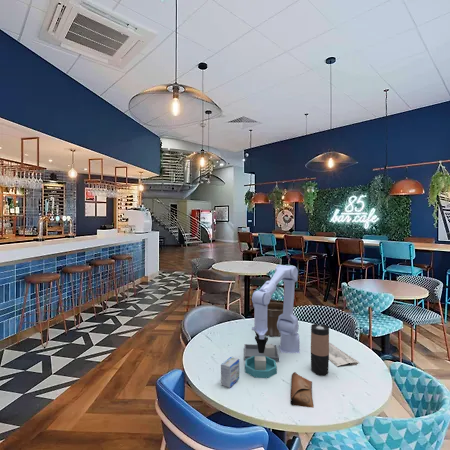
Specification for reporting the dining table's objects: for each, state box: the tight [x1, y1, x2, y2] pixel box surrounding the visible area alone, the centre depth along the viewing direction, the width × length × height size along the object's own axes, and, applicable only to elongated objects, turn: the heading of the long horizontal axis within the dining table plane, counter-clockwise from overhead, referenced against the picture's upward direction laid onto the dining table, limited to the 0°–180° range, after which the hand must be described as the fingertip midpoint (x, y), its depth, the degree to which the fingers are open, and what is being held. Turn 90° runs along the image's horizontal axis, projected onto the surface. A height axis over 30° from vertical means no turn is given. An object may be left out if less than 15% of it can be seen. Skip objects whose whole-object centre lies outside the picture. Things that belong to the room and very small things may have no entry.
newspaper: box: [329, 342, 360, 368], centre depth 142 cm, size 23×12×2 cm, turn 13°
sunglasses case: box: [290, 371, 314, 409], centre depth 111 cm, size 18×7×7 cm
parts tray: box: [244, 343, 280, 363], centre depth 140 cm, size 16×13×2 cm
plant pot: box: [265, 301, 284, 338], centre depth 169 cm, size 16×16×16 cm
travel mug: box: [310, 323, 330, 377], centre depth 126 cm, size 8×8×20 cm
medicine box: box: [220, 356, 240, 389], centre depth 117 cm, size 8×4×9 cm, turn 148°
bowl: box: [244, 356, 278, 379], centre depth 126 cm, size 14×14×3 cm
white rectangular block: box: [255, 356, 266, 370], centre depth 126 cm, size 5×4×5 cm
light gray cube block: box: [264, 343, 275, 357], centre depth 140 cm, size 4×4×4 cm
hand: (260, 348), depth 126 cm, fingers open, 7 cm apart
